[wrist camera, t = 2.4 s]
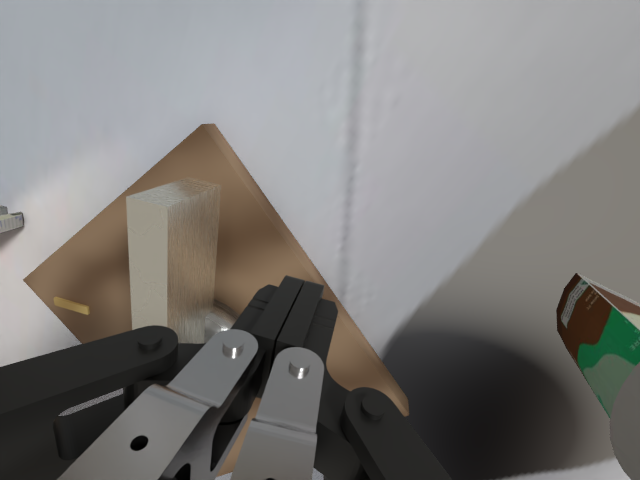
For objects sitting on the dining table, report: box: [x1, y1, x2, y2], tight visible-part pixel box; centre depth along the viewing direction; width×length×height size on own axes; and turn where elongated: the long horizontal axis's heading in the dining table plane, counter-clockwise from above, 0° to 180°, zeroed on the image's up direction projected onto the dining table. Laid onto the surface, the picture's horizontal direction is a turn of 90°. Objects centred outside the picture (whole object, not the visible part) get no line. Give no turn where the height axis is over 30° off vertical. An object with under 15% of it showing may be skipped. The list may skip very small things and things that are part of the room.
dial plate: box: [23, 124, 409, 477], centre depth 26 cm, size 24×21×2 cm
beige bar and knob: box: [126, 177, 240, 344], centre depth 20 cm, size 18×9×6 cm, turn 169°
